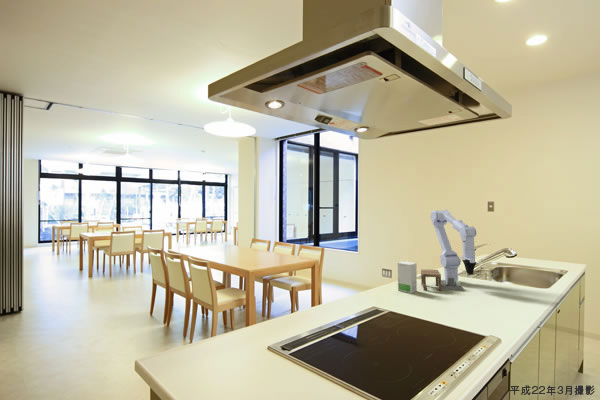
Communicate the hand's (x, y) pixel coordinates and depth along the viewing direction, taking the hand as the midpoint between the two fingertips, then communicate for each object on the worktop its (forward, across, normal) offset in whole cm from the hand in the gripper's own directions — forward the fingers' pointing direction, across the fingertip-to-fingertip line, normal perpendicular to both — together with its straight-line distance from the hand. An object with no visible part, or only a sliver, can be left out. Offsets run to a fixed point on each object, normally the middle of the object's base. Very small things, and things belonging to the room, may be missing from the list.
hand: (469, 273), depth 174 cm
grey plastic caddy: (+9, 0, -10) cm, 13 cm away
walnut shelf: (+8, 0, -20) cm, 22 cm away
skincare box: (+9, +8, -33) cm, 35 cm away
